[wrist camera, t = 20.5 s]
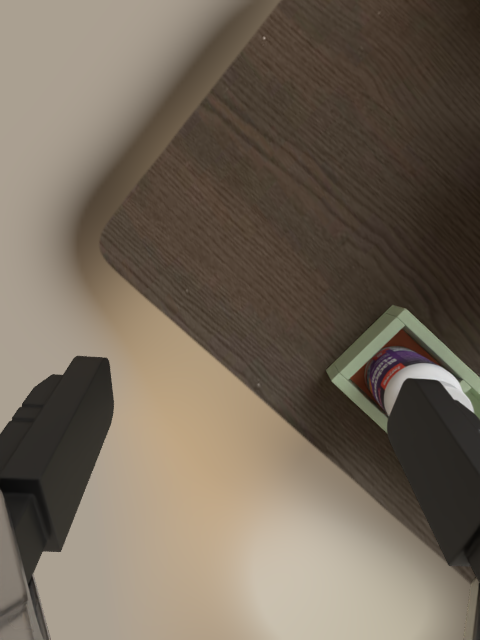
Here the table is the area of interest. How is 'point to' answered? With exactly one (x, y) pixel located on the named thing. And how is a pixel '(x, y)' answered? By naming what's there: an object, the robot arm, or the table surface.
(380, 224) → the table surface
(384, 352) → the pill bottle
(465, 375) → the storage box
